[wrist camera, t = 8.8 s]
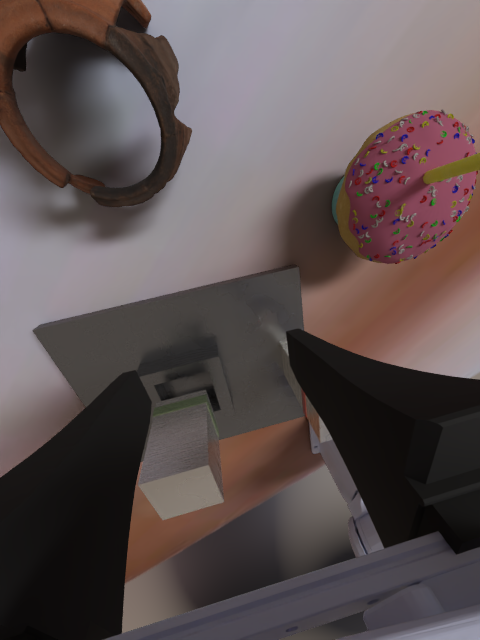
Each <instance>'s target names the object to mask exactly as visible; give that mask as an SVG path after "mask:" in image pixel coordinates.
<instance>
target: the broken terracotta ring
mask: <svg viewBox="0 0 480 640" xmlns="http://www.w3.org/2000/svg"><path fill="white" fill-rule="evenodd" d="M121 7H123V8H124V9H125V10H127V11H128V12H129V13H130V14H131V15H132V16H133V17H134V18H135V19H136V20H137V21H138V22H139V23H140V24H141V25H142V26H143V27H144V28H147V27H148V25H149V22H150V20H151V14H150V12H149V11H148V9H147V8H146V7H145V5H144V4H143V3H142V1H141V0H0V125H1V127H2V129H3V131H4V132H5V134H6V135H7V137H8V138H9V140H10V141H11V143H12V144H13V146H14V147H15V148H16V149H17V150H18V151H19V152H20V153H21V154H22V156H23V157H24V158H25V159H26V160H27V161H28V162H29V163H30V164H31V165H32V166H33V167H34V169H35V170H37V171H38V172H39V173H41V174H42V175H43V176H44V177H46V178H47V179H48V180H49V181H51V182H52V183H54V184H55V185H57V186H59V187H61V188H64V187H65V186H66V185H67V183H69V184H71V185H72V186H74V187H76V188H77V189H80V190H82V191H83V192H86V193H88V194H91V196H92V198H93V199H94V200H95V201H96V202H97V203H98V204H100V205H102V206H108V207H122V206H133V205H137V204H140V203H143V202H145V201H147V200H149V199H150V198H152V197H153V196H154V194H155V193H158V192H159V191H160V190H162V189H163V188H164V187H165V185H166V183H167V182H168V181H170V180H171V179H173V177H174V175H175V174H176V172H177V170H178V168H179V165H180V163H181V160H182V157H183V155H184V153H185V150H186V148H187V145H188V144H189V141H190V137H191V133H192V129H191V128H189V127H187V126H186V125H185V124H183V123H181V122H180V121H179V120H178V119H177V118H176V117H175V115H174V110H175V108H176V106H177V104H178V101H179V93H180V88H179V82H178V78H177V74H178V69H179V67H178V61H177V58H176V56H175V54H174V52H173V50H172V48H171V46H170V44H169V42H168V41H167V39H166V38H165V37H164V36H162V35H161V36H159V37H156V38H154V37H153V36H151V35H148V34H146V33H136V32H133V31H130V30H126V29H124V28H121V27H117V26H116V22H117V18H118V15H119V12H120V9H121ZM52 32H55V33H63V34H70V35H74V36H78V37H81V38H84V39H86V40H88V41H90V42H93V43H94V44H96V45H98V46H99V47H101V48H103V49H105V50H107V51H110V52H111V53H112V54H113V55H114V56H115V57H116V58H117V59H119V60H120V61H121V62H122V63H123V64H124V65H125V66H126V67H127V68H128V69H129V71H130V72H131V73H132V74H133V75H134V76H135V78H136V79H137V80H138V82H139V83H140V84H141V86H142V87H143V89H144V91H145V92H146V94H147V96H148V98H149V100H150V102H151V104H152V106H153V108H154V111H155V114H156V117H157V119H158V123H159V126H160V129H161V151H160V156H159V159H158V162H157V164H156V166H155V168H154V170H153V171H152V173H151V174H150V175H149V176H148V177H147V178H146V179H144V180H143V181H141V182H139V183H137V184H135V185H132V186H129V187H124V188H109V187H105V185H104V184H103V183H102V182H100V181H98V180H95V179H92V178H89V177H85V176H82V175H73V174H71V173H70V172H69V171H68V170H67V169H65V168H64V167H63V166H61V165H60V164H59V163H58V162H57V161H55V160H54V159H53V158H52V157H51V156H50V155H49V154H48V153H47V152H46V151H45V150H44V149H43V147H42V146H41V145H40V144H39V143H38V141H37V140H36V139H35V137H34V136H33V134H32V133H31V131H30V130H29V128H28V127H27V125H26V123H25V121H24V119H23V117H22V115H21V113H20V110H19V108H18V105H17V102H16V97H15V92H14V90H13V86H12V74H13V69H15V70H18V71H21V72H23V71H26V48H27V42H28V41H29V40H31V39H32V38H34V37H36V36H39V35H42V34H45V33H52Z"/></svg>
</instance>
